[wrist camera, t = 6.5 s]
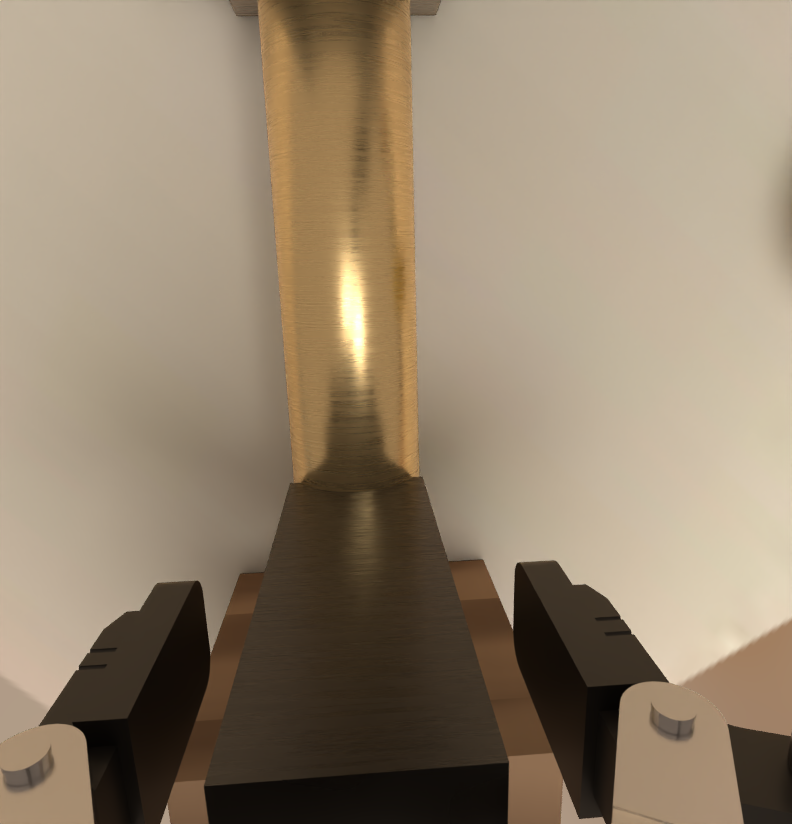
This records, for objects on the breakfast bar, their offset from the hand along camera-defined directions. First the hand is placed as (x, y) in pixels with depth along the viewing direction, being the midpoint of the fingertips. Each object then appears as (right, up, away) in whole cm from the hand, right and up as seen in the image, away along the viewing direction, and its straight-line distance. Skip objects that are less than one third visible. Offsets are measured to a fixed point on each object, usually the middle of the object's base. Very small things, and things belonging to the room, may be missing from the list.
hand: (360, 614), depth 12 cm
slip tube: (0, +6, +4) cm, 7 cm away
